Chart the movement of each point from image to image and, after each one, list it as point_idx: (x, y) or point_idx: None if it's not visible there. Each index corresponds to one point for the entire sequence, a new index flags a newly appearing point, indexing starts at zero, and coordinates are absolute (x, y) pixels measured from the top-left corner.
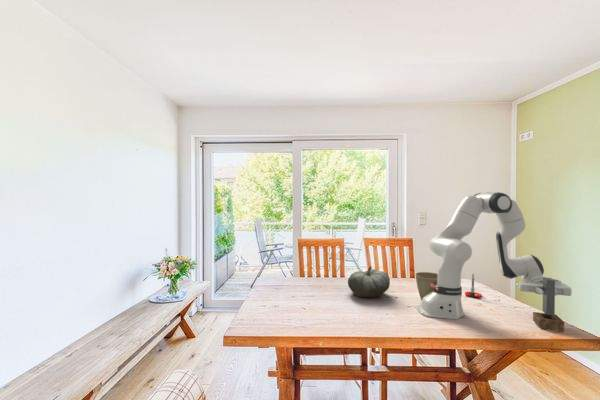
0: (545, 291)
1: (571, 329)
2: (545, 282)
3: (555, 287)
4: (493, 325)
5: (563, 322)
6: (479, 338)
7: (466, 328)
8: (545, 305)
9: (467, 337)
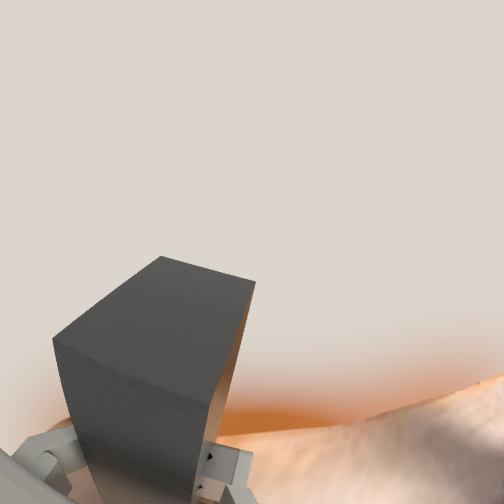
0: (214, 438)
1: None
2: (235, 354)
3: (5, 454)
4: (421, 490)
5: None
6: (437, 396)
7: (473, 435)
8: (199, 499)
9: (456, 393)
